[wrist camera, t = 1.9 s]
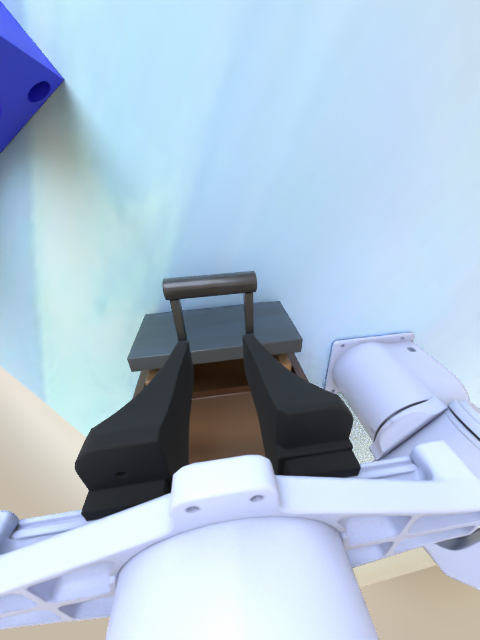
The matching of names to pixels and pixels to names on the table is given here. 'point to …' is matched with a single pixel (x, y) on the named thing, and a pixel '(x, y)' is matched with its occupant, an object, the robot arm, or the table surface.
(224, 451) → the cabinet
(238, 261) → the table surface
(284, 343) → the drawer
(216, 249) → the table surface
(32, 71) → the cable clip
